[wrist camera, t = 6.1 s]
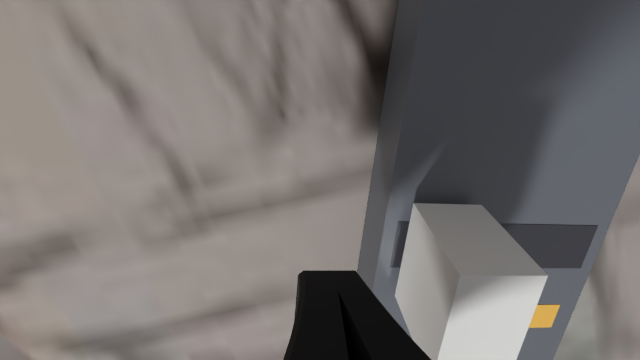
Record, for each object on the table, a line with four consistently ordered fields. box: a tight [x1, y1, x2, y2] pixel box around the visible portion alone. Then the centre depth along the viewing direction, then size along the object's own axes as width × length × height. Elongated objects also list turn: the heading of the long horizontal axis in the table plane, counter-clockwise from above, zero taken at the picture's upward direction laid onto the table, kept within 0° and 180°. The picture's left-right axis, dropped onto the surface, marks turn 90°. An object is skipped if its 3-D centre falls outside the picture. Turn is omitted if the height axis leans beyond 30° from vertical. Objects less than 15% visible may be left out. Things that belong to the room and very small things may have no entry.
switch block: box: [357, 0, 640, 360], centre depth 12 cm, size 7×22×2 cm, turn 175°
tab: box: [395, 203, 548, 360], centre depth 11 cm, size 2×3×3 cm, turn 175°
